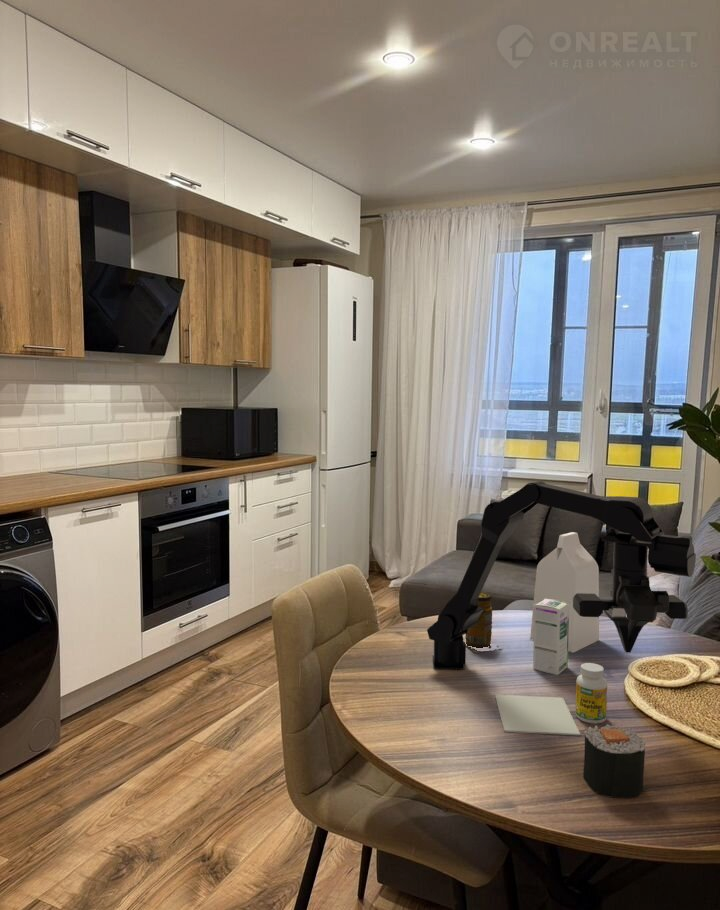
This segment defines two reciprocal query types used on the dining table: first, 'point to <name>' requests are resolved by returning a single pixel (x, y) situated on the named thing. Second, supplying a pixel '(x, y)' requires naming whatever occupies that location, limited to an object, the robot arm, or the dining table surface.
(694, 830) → the dining table surface
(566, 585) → the milk
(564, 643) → the syrup box
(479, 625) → the condiment
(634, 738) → the sushi
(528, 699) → the mat
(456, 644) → the robot arm
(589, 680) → the supplement bottle
